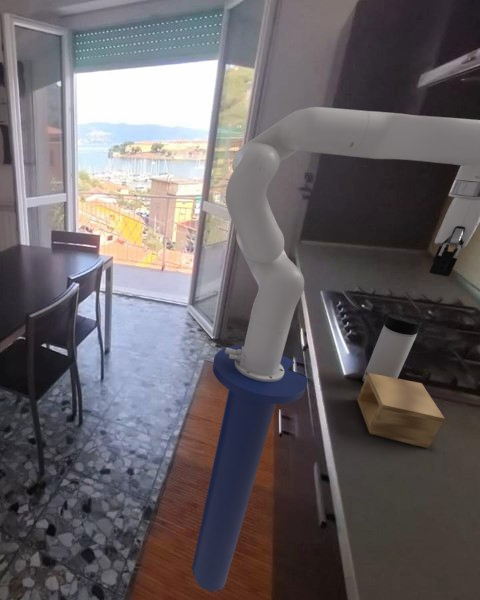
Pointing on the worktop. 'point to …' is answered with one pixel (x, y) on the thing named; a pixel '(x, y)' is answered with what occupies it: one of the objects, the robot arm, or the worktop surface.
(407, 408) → the shelf
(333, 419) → the worktop surface
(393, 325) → the travel mug
